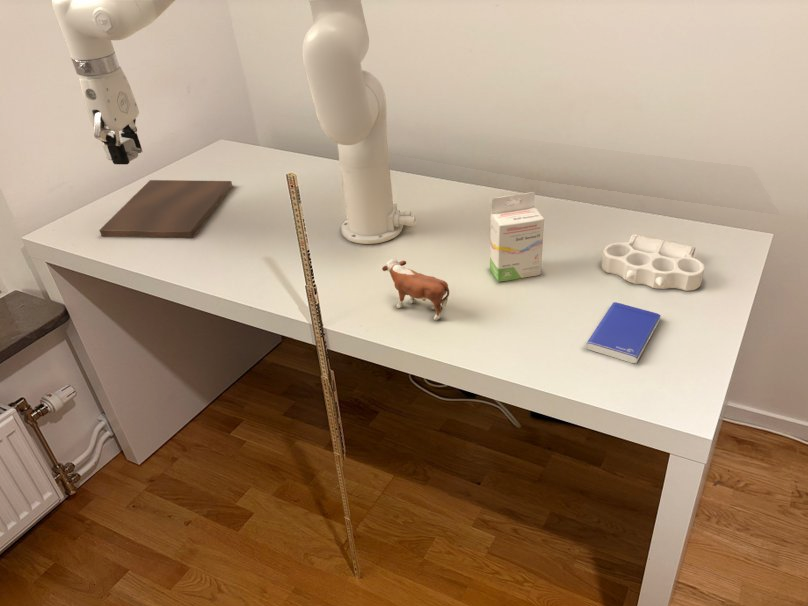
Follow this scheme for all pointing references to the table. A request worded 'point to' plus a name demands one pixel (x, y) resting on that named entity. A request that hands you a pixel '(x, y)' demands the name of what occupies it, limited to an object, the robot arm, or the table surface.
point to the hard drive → (623, 332)
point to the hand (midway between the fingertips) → (128, 157)
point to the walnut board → (167, 209)
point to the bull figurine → (417, 286)
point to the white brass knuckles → (654, 263)
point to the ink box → (516, 237)
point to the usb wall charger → (129, 147)
